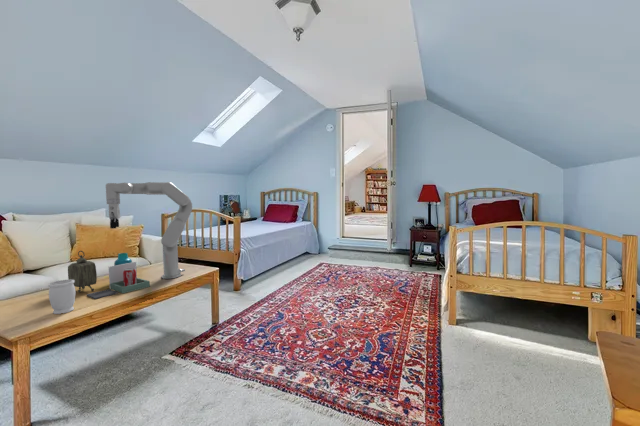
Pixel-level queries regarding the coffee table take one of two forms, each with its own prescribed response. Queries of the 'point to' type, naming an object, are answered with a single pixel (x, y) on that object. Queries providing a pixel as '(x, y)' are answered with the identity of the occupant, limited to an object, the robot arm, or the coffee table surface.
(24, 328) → the coffee table surface
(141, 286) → the tray
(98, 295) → the mat
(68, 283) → the jar
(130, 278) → the soda can
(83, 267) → the tabletop clock
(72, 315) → the coffee table surface
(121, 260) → the vase
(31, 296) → the coffee table surface
